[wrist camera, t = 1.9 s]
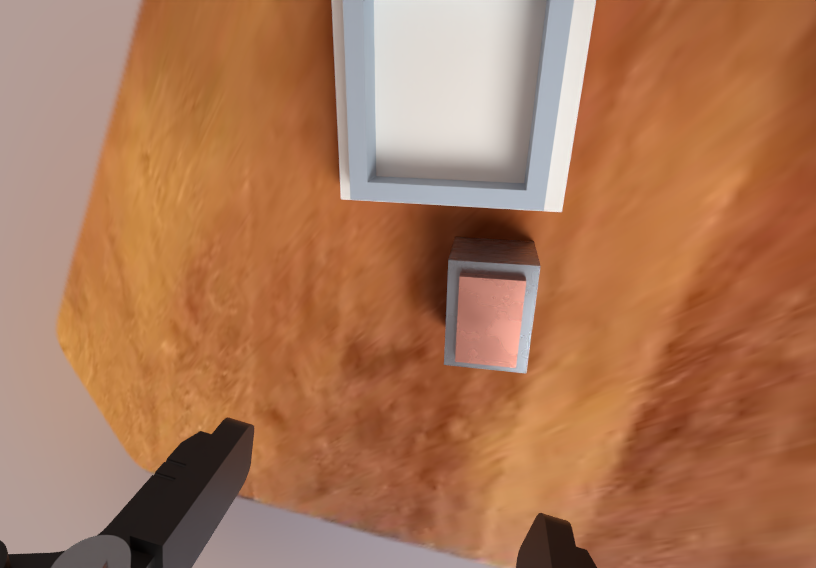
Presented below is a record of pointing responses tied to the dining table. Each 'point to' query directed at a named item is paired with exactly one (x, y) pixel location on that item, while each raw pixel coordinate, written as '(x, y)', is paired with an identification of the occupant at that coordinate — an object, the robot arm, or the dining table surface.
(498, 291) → the copper topped block
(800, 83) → the dining table surface
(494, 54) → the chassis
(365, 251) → the dining table surface
